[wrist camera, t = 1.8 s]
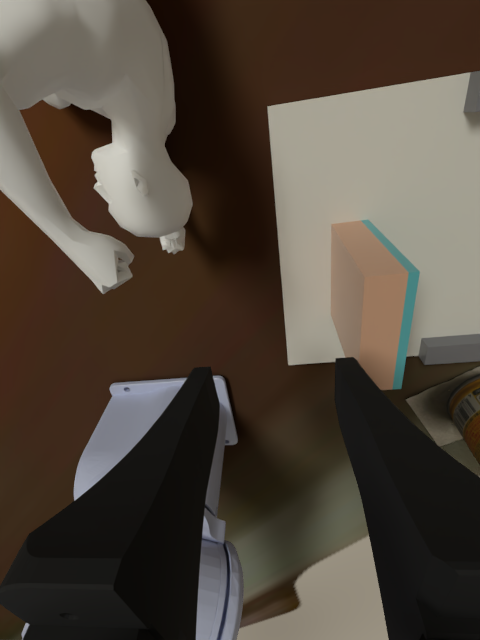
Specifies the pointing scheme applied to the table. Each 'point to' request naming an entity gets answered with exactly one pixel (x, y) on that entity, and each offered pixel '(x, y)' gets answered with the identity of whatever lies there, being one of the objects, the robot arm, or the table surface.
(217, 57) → the table surface
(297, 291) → the board
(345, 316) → the tile
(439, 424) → the condiment
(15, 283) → the table surface
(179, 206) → the person figurine
